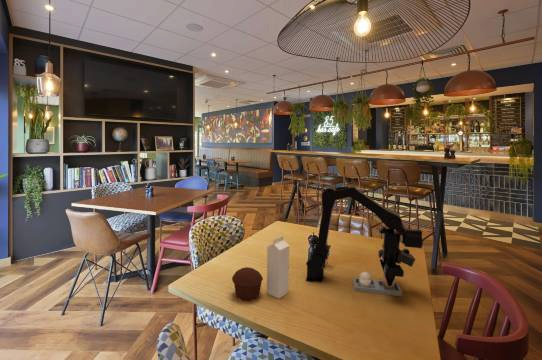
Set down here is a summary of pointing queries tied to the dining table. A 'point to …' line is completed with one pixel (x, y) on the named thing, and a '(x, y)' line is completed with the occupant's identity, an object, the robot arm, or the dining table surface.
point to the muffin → (247, 283)
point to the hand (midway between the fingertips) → (388, 282)
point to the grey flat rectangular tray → (378, 288)
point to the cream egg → (365, 280)
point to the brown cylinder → (387, 283)
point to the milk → (278, 268)
